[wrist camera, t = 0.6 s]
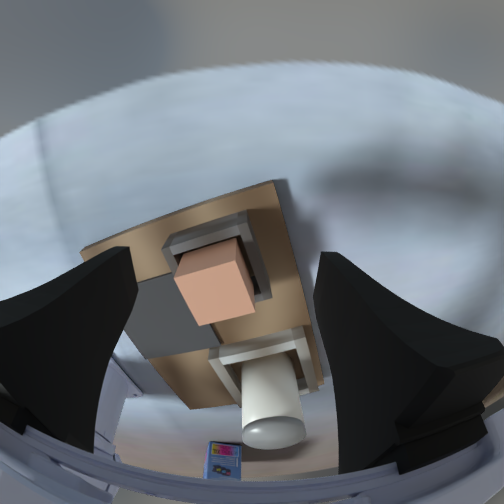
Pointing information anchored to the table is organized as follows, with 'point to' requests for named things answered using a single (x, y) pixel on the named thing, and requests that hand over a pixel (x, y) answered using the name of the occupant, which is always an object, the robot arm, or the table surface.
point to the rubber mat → (166, 321)
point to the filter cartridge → (271, 403)
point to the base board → (265, 292)
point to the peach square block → (216, 282)
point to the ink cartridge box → (222, 462)
